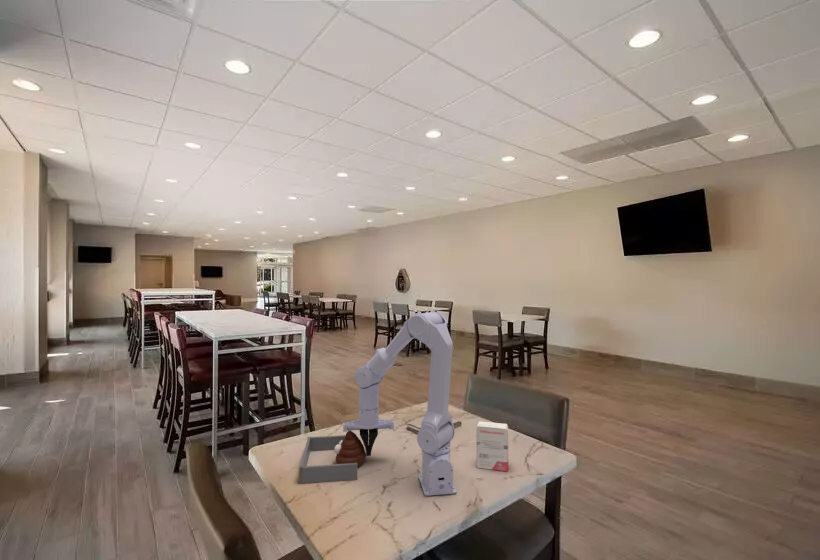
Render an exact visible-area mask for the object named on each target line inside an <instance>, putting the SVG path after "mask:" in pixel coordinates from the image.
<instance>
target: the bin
mask: <svg viewBox="0 0 820 560" xmlns="http://www.w3.org/2000/svg"><path fill="white" fill-rule="evenodd" d="M345 436H346V434H343V435H342V434H341V435H340V434H339V435H324V436H323V435H322V436H307V439H306V443H305V446H304V450H303V454H302V458H301V461H300V464H299V467H298V469H299V470H298V475H299V476H298V484H299V485H301V484H303V485H304V484H316V483H326V482H328V483H329V482H331V483H332V482H341V481H356V480H358V467H359V466H358V464H357V463H347V464H336V463H333V464H321V465H319V464H318V465H308V463H309V462H308V461H309V458H310V453H311V452H317V451H318V452H320V451H334V447H335V446H336V445H337V444H339V442H340V441H341V440H344V439H345Z"/></svg>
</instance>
